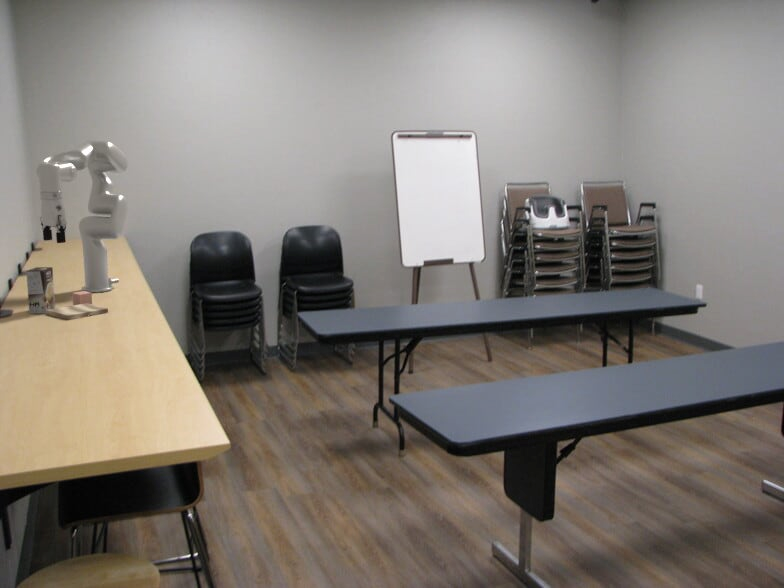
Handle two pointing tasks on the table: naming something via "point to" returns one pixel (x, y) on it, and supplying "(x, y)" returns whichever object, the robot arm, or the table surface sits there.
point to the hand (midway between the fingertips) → (54, 241)
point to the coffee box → (40, 289)
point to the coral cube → (82, 297)
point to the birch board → (77, 311)
